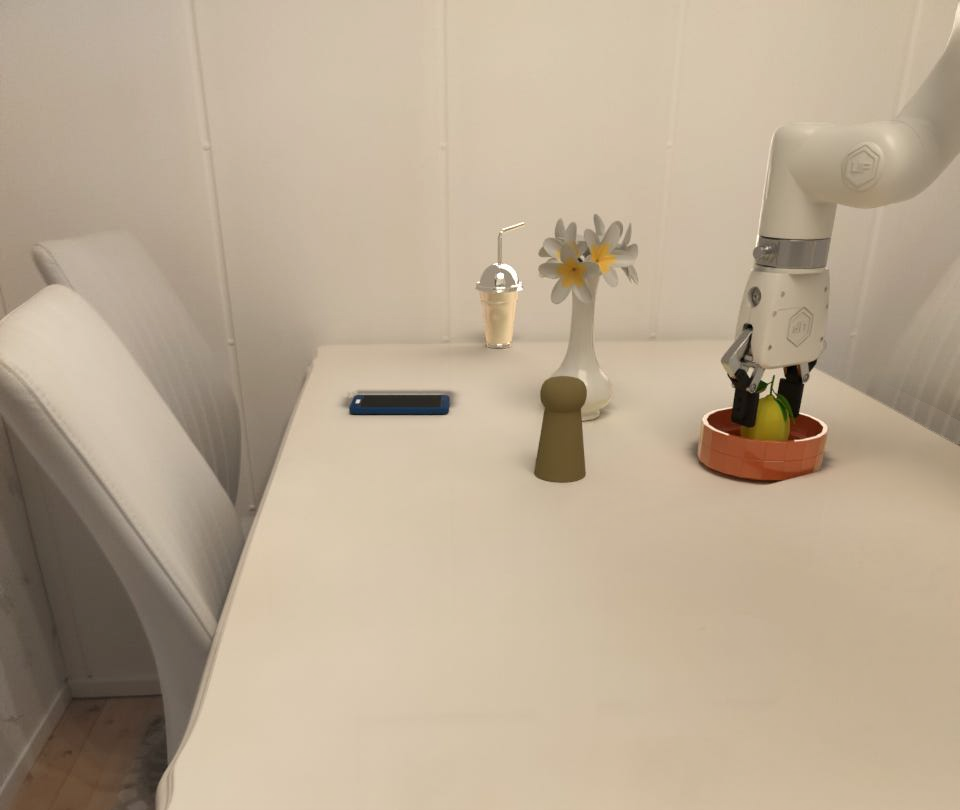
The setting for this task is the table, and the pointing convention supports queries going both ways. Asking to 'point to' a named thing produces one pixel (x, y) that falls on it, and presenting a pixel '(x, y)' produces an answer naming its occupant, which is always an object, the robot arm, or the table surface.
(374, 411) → the cell phone
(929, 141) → the robot arm
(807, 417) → the bowl
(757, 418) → the lemon
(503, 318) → the cup with straw
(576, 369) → the flower vase
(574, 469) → the olive game pawn
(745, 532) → the table surface
